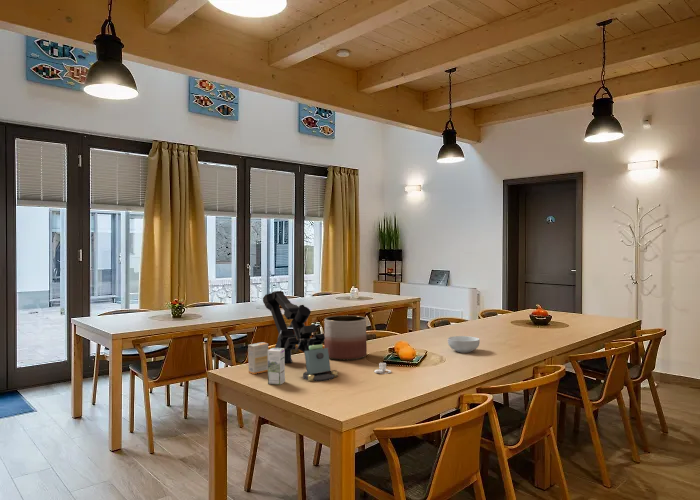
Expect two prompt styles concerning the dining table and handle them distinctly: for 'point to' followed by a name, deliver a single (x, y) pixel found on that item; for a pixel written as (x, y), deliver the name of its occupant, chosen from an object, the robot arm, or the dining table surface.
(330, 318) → the planter
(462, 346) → the cereal bowl
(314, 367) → the grey upright slab
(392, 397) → the dining table surface
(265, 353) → the supplement box
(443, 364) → the dining table surface
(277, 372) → the syrup box
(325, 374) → the base
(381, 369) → the white lobed piece
